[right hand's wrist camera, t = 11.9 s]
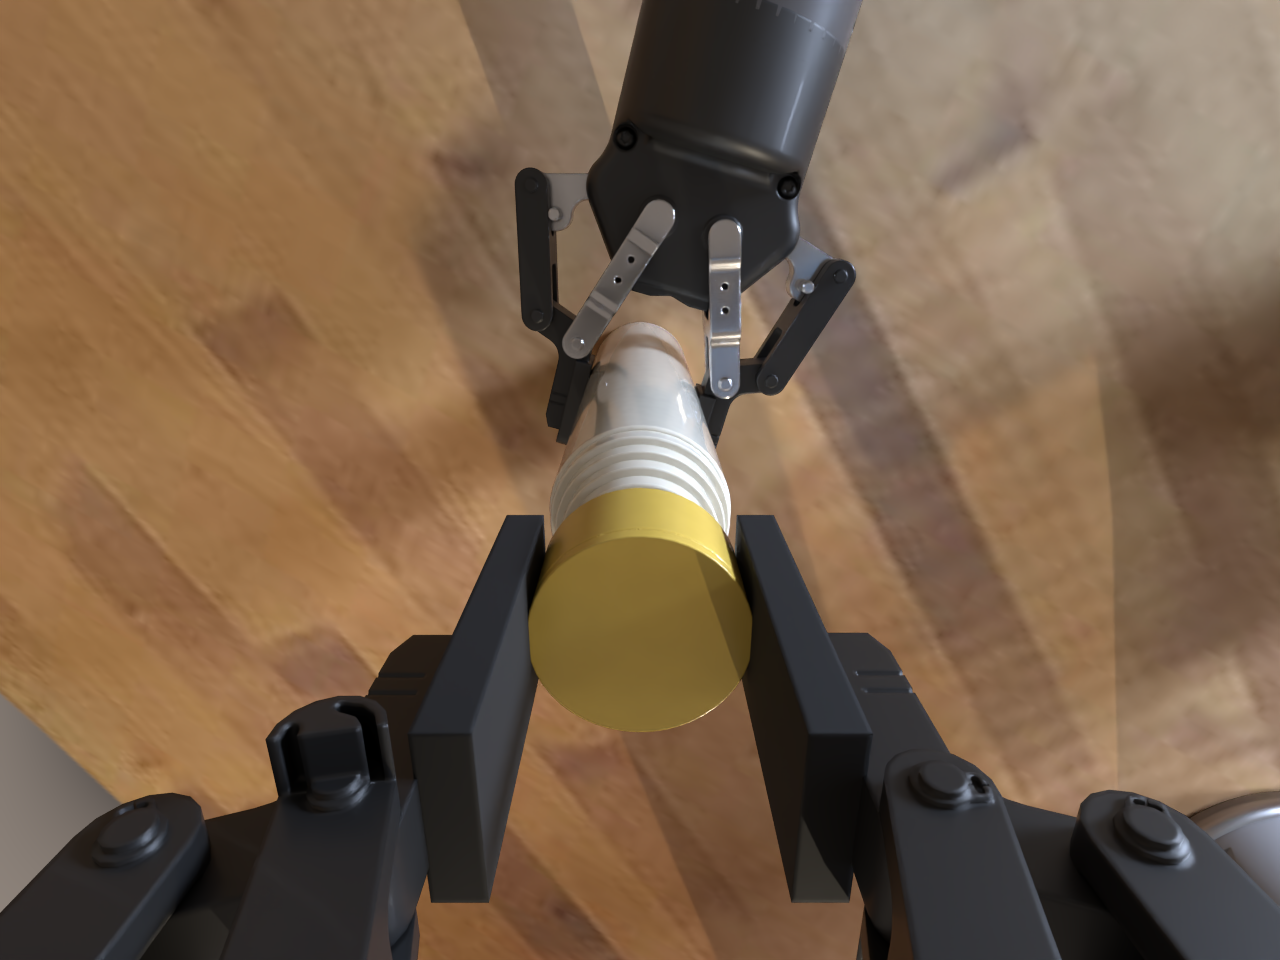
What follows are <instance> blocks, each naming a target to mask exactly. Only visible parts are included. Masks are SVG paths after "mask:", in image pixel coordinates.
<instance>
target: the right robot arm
mask: <svg viewBox="0 0 1280 960" xmlns="http://www.w3.org/2000/svg"><path fill="white" fill-rule="evenodd" d="M545 554H546V552H545V533H544V515H507V516H506V518H505V520H504V522H503V525H502V527H501V529H500V531H499V533H498V536H497V538H496V540H495V542H494V544H493V547H492V549H491V551H490V553H489V555H488V558H487V560H486V562H485V564H484V566H483V569H482V571H481V573H480V575H479V577H478V580H477V582H476V584H475V586H474V588H473V591H472V593H471V595H470V597H469V599H468V602H467V604H466V606H465V608H464V610H463V613H462V615H461V617H460V619H459V621H458V623H457V626H456V628H455V630H454V632H453V634H452V635H413V636H411V637H410V638H409V639H408V640H406V641H405V642H404V643H402V644H401V645H400V646H399V647H397V648H396V649H395V650H394V651H392V652H391V653H390V655H389V656H388V658H387V660H386V662H385V663H384V665H383V667H382V668H381V670H380V672H379V676H378V678H376V679H375V680H374V682H373V684H372V686H371V687H370V689H369V693H368V695H366V696H365V697H362V696H336V697H332V698H328V699H323V700H319V701H315V702H313V703H311V704H309V705H306V706H304V707H302V708H300V709H297V710H295V711H294V712H292V713H291V714H290V715H288V716H287V717H286V718H284V719H283V720H282V721H280V722H279V723H278V724H276V726H275V727H274V728H273V730H272V731H271V733H270V734H269V735H268V737H267V738H266V744H267V748H268V752H269V757H270V761H271V766H272V770H273V774H274V779H275V783H276V788H277V792H278V796H279V797H278V799H277V801H275V802H272V803H269V804H266V805H263V806H260V807H257V808H253V809H249V810H245V811H241V812H237V813H233V814H228V815H224V816H220V817H216V818H212V819H208V820H204V817H203V813H202V810H201V807H200V806H199V805H198V804H197V803H196V802H195V801H194V800H193V799H192V798H191V797H190V796H185V795H181V794H176V793H165V794H156V795H148V796H145V797H142V798H139V799H136V800H133V801H130V802H127V803H124V804H122V805H120V806H118V807H116V808H114V809H113V810H111V811H109V812H107V813H105V814H104V815H102V816H100V817H98V818H96V819H95V820H94V821H93V822H91V823H90V824H89V825H88V826H87V827H85V828H84V829H83V830H82V831H80V832H79V833H78V834H77V835H76V836H74V837H73V838H72V839H71V840H70V841H69V842H68V843H67V844H66V846H65V847H64V848H63V849H62V850H61V851H60V852H59V853H58V854H57V855H56V856H55V857H54V858H53V859H52V860H51V861H50V862H49V863H48V864H47V865H46V866H45V867H44V868H43V869H42V870H41V871H40V872H39V873H38V874H37V875H36V877H35V878H34V879H33V880H32V881H31V882H30V883H29V884H28V885H27V886H26V887H25V888H24V889H23V890H22V891H21V892H20V893H19V894H18V895H17V896H16V897H15V898H14V899H13V900H12V901H11V902H10V903H9V904H8V905H7V906H6V907H5V908H4V909H3V911H2V912H1V913H0V960H417V959H418V949H419V938H420V934H419V926H418V918H417V912H416V906H417V903H418V900H419V897H420V894H421V891H422V888H423V885H424V882H425V878H426V875H427V877H428V884H429V891H430V898H431V903H489V900H490V895H491V891H492V886H493V882H494V877H495V873H496V868H497V864H498V859H499V855H500V850H501V846H502V841H503V837H504V832H505V828H506V823H507V819H508V814H509V810H510V805H511V801H512V796H513V792H514V787H515V783H516V778H517V774H518V769H519V765H520V760H521V756H522V751H523V747H524V742H525V738H526V733H527V729H528V724H529V720H530V715H531V711H532V706H533V702H534V697H535V693H536V688H537V684H538V679H539V678H538V676H537V675H536V672H535V670H534V668H533V665H532V663H531V657H530V642H529V626H528V614H529V609H530V606H531V603H532V599H533V595H534V592H535V588H536V585H537V581H538V578H539V574H540V571H541V567H542V564H543V560H544V557H545ZM735 556H736V560H737V563H738V567H739V570H740V574H741V577H742V581H743V584H744V588H745V591H746V595H747V598H748V602H749V605H750V609H751V612H752V633H751V649H750V661H749V664H748V667H747V669H746V671H745V673H744V675H743V677H742V682H743V686H744V691H745V695H746V700H747V704H748V709H749V713H750V718H751V722H752V727H753V731H754V736H755V740H756V745H757V749H758V754H759V758H760V763H761V767H762V772H763V776H764V781H765V785H766V790H767V794H768V799H769V803H770V808H771V812H772V817H773V821H774V826H775V830H776V835H777V839H778V844H779V848H780V853H781V857H782V862H783V866H784V871H785V875H786V880H787V884H788V889H789V893H790V898H791V902H792V903H849V901H850V894H851V887H852V880H853V873H854V874H855V877H856V880H857V883H858V886H859V889H860V892H861V895H862V898H863V901H864V904H865V905H864V912H863V918H862V925H861V931H860V938H859V945H858V951H857V958H856V960H1280V791H1273V792H1263V793H1256V794H1251V795H1246V796H1241V797H1238V798H1234V799H1231V800H1228V801H1225V802H1222V803H1220V804H1217V805H1215V806H1212V807H1210V808H1208V809H1206V810H1204V811H1202V812H1200V813H1198V814H1196V815H1194V816H1193V817H1191V818H1188V817H1187V816H1185V815H1183V814H1182V813H1180V812H1178V811H1176V810H1174V809H1172V808H1171V807H1169V806H1167V805H1165V804H1163V803H1161V802H1160V801H1157V800H1154V799H1151V798H1148V797H1145V796H1142V795H1139V794H1136V793H1133V792H1124V791H1115V790H1106V791H1101V792H1097V793H1092V794H1090V795H1089V796H1088V797H1087V798H1086V799H1085V800H1084V801H1083V802H1082V803H1081V805H1080V808H1079V812H1078V815H1077V817H1072V816H1068V815H1064V814H1060V813H1056V812H1052V811H1047V810H1043V809H1039V808H1035V807H1031V806H1027V805H1023V804H1020V803H1017V802H1014V801H1011V800H1008V799H1006V798H1003V797H1002V796H1001V794H1000V792H999V791H998V789H997V788H996V786H995V784H994V783H993V781H992V780H991V779H990V778H989V777H988V776H987V775H986V774H984V773H983V772H982V771H981V770H980V769H979V768H977V767H976V766H975V765H973V764H971V763H969V762H968V761H966V760H964V759H962V758H960V757H958V756H956V755H954V754H950V752H949V750H948V749H947V747H946V745H945V744H944V742H943V740H942V738H941V737H940V735H939V733H938V732H937V730H936V728H935V726H934V725H933V723H932V721H931V720H930V718H929V716H928V714H927V713H926V711H925V709H924V708H923V706H922V704H921V702H920V701H919V699H918V697H917V696H916V694H915V693H913V692H912V687H911V685H910V684H909V682H908V680H907V679H906V677H905V675H902V670H901V668H900V667H899V665H898V663H897V661H896V660H895V658H894V656H893V655H892V653H891V651H890V650H889V649H887V648H886V647H885V646H884V645H882V644H881V643H880V642H879V641H877V640H876V639H875V638H873V637H872V636H871V635H870V634H868V633H827V631H826V629H825V627H824V625H823V622H822V620H821V618H820V616H819V614H818V612H817V609H816V607H815V605H814V603H813V601H812V598H811V596H810V594H809V592H808V590H807V587H806V585H805V583H804V581H803V579H802V576H801V574H800V572H799V570H798V568H797V565H796V563H795V561H794V559H793V557H792V554H791V552H790V550H789V548H788V546H787V543H786V541H785V539H784V537H783V535H782V532H781V530H780V528H779V526H778V524H777V522H776V519H775V517H774V515H737V522H736V541H735Z"/></svg>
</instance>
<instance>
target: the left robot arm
mask: <svg viewBox="0 0 1280 960" xmlns="http://www.w3.org/2000/svg"><path fill="white" fill-rule="evenodd" d="M862 1H863V0H643V1H642V5H641V9H640V14H639V18H638V22H637V26H636V31H635V35H634V40H633V44H632V48H631V52H630V57H629V61H628V65H627V69H626V74H625V78H624V82H623V86H622V91H621V95H620V99H619V103H618V108H617V112H616V116H615V120H614V125H613V129H612V133H611V137H610V140H609V143H608V145H607V147H606V149H605V150H604V152H603V154H602V155H601V156H600V158H599V159H598V160H597V161H596V162H595V163H594V164H593V166H592V167H591V169H590V171H589V173H588V174H567V173H543V172H541V171H539V170H538V169H535V168H525V169H523V170H521V171H520V172H519V173H518V175H517V176H516V179H515V198H516V217H517V236H518V254H519V273H520V292H521V311H522V320H523V322H524V324H525V325H526V326H527V327H528V328H529V329H531V330H533V331H538V332H539V333H541V334H542V335H544V336H545V337H546V338H548V339H549V340H551V341H552V342H553V343H554V344H555V346H556V347H557V349H558V353H559V360H558V365H557V369H556V373H555V378H554V382H553V386H552V390H551V395H550V399H549V403H548V407H547V412H546V417H547V424H548V426H549V427H553V428H556V429H559V432H558V436H557V440H556V442H558V443H561V444H565V445H567V442H568V439H569V436H570V433H571V430H572V427H573V424H574V421H575V418H576V415H577V412H578V409H579V406H580V403H581V400H582V397H583V394H584V391H585V388H586V385H587V382H588V379H589V376H590V373H591V370H592V367H593V363H594V359H595V355H591V353H592V349H593V347H594V345H595V343H596V342H597V340H598V339H599V337H600V336H601V334H602V333H603V331H604V330H605V328H606V326H607V325H608V323H609V322H610V320H611V319H612V317H613V316H614V315H615V313H616V312H617V310H618V309H619V307H620V306H621V304H622V303H623V301H624V300H625V298H626V297H627V295H628V293H629V292H630V290H632V291H635V292H639V293H643V294H646V295H650V296H672V297H674V298H675V299H677V300H679V301H680V302H682V303H684V304H685V305H687V306H689V307H692V308H696V309H699V310H703V329H704V341H705V375H704V378H703V381H702V385H700V384H696V386H695V389H696V392H697V395H698V398H699V401H700V404H701V407H702V410H703V413H704V416H705V419H706V422H707V426H708V429H709V432H710V435H711V438H712V441H713V444H714V447H715V449H716V446H717V443H718V440H719V436H720V434H721V431H722V428H723V425H724V422H725V418H726V415H727V412H728V409H729V406H730V404H731V403H732V401H733V400H734V399H735V398H737V397H738V396H740V395H743V394H751V393H763V394H765V395H770V396H771V395H776V394H778V393H780V392H781V391H782V390H783V389H784V387H785V386H786V384H787V383H788V381H789V380H790V378H791V377H792V375H793V374H794V372H795V371H796V369H797V368H798V366H799V365H800V363H801V362H802V360H803V359H804V357H805V356H806V354H807V353H808V351H809V350H810V348H811V347H812V345H813V344H814V342H815V341H816V339H817V338H818V336H819V335H820V333H821V332H822V330H823V329H824V327H825V326H826V324H827V323H828V321H829V320H830V318H831V317H832V315H833V314H834V312H835V311H836V309H837V308H838V306H839V305H840V303H841V302H842V300H843V299H844V297H845V296H846V294H847V293H848V291H849V290H850V288H851V287H852V285H853V284H854V282H855V279H856V271H855V268H854V266H853V265H852V264H851V263H850V262H848V261H844V260H842V259H838V258H832V257H831V256H829V255H828V254H826V253H825V252H823V251H821V250H820V249H818V248H817V247H815V246H814V245H812V244H811V243H809V242H808V241H806V240H805V239H803V238H801V237H800V223H799V217H798V199H799V195H800V191H801V188H802V185H803V182H804V179H805V175H806V172H807V169H808V166H809V163H810V160H811V157H812V154H813V151H814V148H815V145H816V141H817V138H818V135H819V132H820V129H821V126H822V123H823V120H824V117H825V114H826V111H827V108H828V105H829V102H830V99H831V95H832V92H833V90H834V87H835V84H836V81H837V77H838V74H839V71H840V68H841V65H842V62H843V59H844V56H845V53H846V50H847V47H848V44H849V41H850V38H851V35H852V31H853V28H854V25H855V22H856V19H857V16H858V13H859V10H860V7H861V4H862ZM585 200H589V203H590V205H591V208H592V211H593V213H594V216H595V219H596V221H597V224H598V227H599V229H600V232H601V235H602V237H603V240H604V243H605V246H606V248H607V251H608V254H609V256H610V259H611V262H610V264H609V265H608V267H607V269H606V270H605V272H604V273H603V275H602V276H601V278H600V280H599V281H598V283H597V284H596V286H595V288H594V289H593V291H592V292H591V294H590V295H589V297H588V299H587V300H586V302H585V304H584V305H583V307H582V308H581V310H580V311H579V313H578V315H577V316H576V315H574V314H573V313H571V312H570V311H568V310H567V309H566V308H564V307H563V306H561V305H560V304H559V299H558V271H557V242H556V231H561V230H564V229H566V228H568V227H569V226H570V225H571V223H572V221H573V216H574V211H575V208H576V207H577V205H578V204H579V203H581V202H582V201H585ZM784 259H786V260H787V262H788V264H789V275H788V277H787V280H786V283H785V288H786V291H787V293H788V295H789V296H790V297H792V299H791V300H790V302H789V303H788V305H787V307H786V308H785V310H784V311H783V313H782V314H781V316H780V317H779V319H778V321H777V322H776V324H775V325H774V327H773V328H772V330H771V331H770V333H769V335H768V336H767V338H766V339H765V341H764V342H763V344H762V345H761V347H760V349H759V350H758V352H757V353H756V355H755V356H754V358H749V359H740V339H741V293H742V292H744V291H745V290H746V289H747V288H749V287H750V286H751V285H752V284H754V283H755V282H756V281H757V280H759V279H760V278H761V277H762V276H764V275H765V274H766V273H768V272H769V271H770V270H771V269H773V268H774V267H775V266H776V265H778V264H779V263H780V262H781V261H783V260H784Z"/></svg>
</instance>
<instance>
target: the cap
mask: <svg viewBox="0 0 1280 960" xmlns="http://www.w3.org/2000/svg"><path fill="white" fill-rule="evenodd" d="M528 626H529V642H530V657H531V663H532V665H533V668H534V670H535V672H536V675H537V676H538V678H539V679H540V681H541V683H542V684H543V686H544V687H545V688H546V689H547V691H548V692H549V693H550V694H551V696H552V697H554V698H555V699H556V700H557V701H558V702H559V703H560V704H561V705H562V706H564V707H565V708H566V709H568V710H569V711H570V712H572V713H574V714H575V715H577V716H579V717H581V718H582V719H584V720H587V721H589V722H591V723H594V724H596V725H599V726H603V727H606V728H609V729H615V730H620V731H628V732H653V731H660V730H667V729H670V728H674V727H678V726H681V725H684V724H687V723H689V722H692V721H694V720H696V719H698V718H700V717H702V716H704V715H705V714H707V713H708V712H710V711H711V710H713V709H714V708H716V707H717V706H718V705H719V704H720V703H722V702H723V701H724V700H725V699H726V698H727V697H728V696H729V695H730V694H731V692H732V691H733V690H734V689H735V688H736V686H737V685H738V683H739V682H740V680H741V679H742V677H743V675H744V673H745V671H746V669H747V667H748V664H749V661H750V649H751V633H752V612H751V609H750V605H749V602H748V598H747V595H746V591H745V588H744V584H743V581H742V577H741V574H740V570H739V567H738V563H737V560H736V556H735V553H734V549H733V546H732V544H731V542H730V540H729V538H728V536H727V534H726V533H725V531H724V530H723V528H722V527H721V525H720V524H719V523H718V522H717V521H716V520H715V519H714V517H713V516H711V515H710V514H709V513H708V512H707V511H706V510H705V509H703V508H702V507H700V506H699V505H697V504H696V503H694V502H693V501H691V500H689V499H687V498H684V497H682V496H680V495H677V494H675V493H672V492H668V491H663V490H658V489H650V488H629V489H623V490H617V491H613V492H609V493H605V494H603V495H600V496H598V497H596V498H594V499H591V500H590V501H588V502H586V503H585V504H583V505H581V506H580V507H579V508H577V509H576V510H575V511H574V512H572V513H571V514H570V515H569V516H568V517H567V518H566V519H565V520H564V521H563V522H562V523H561V525H560V526H559V527H558V529H557V530H556V532H555V533H554V535H553V537H552V539H551V541H550V543H549V545H548V548H547V551H546V554H545V557H544V560H543V564H542V567H541V571H540V574H539V578H538V581H537V585H536V588H535V592H534V595H533V599H532V603H531V606H530V609H529V614H528Z"/></svg>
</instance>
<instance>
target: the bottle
mask: <svg viewBox="0 0 1280 960" xmlns="http://www.w3.org/2000/svg"><path fill="white" fill-rule="evenodd" d="M629 488H650V489H658V490H663V491H668V492H672V493H675V494H677V495H680V496H682V497H684V498H687V499H689V500H691V501H693V502H694V503H696V504H697V505H699V506H700V507H702V508H703V509H705V510H706V511H707V512H708V513H709V514H710V515H711V516H713V517H714V519H715V520H716V521H717V522H718V523H719V524H720V525H721V527H722V528H723V530H724V531H725V533H726V534H727V536H728V534H729V527H730V516H731V502H730V494H729V490H728V486H727V483H726V480H725V477H724V474H723V471H722V468H721V465H720V462H719V459H718V456H717V453H716V450H715V447H714V444H713V441H712V438H711V435H710V432H709V429H708V426H707V422H706V419H705V416H704V413H703V410H702V407H701V404H700V401H699V398H698V395H697V392H696V389H695V386H694V383H693V380H692V377H691V374H690V371H689V368H688V365H687V362H686V359H685V356H684V353H683V351H682V348H681V346H680V345H679V343H678V341H677V340H676V339H675V338H674V336H672V335H671V334H670V333H669V332H668V331H667V330H665V329H663V328H662V327H660V326H657V325H655V324H651V323H646V322H635V323H629V324H626V325H623V326H621V327H619V328H617V329H615V330H614V331H613V332H611V333H610V334H609V335H608V336H607V337H606V338H605V339H604V341H603V342H602V344H601V345H600V347H599V349H598V352H597V355H596V358H595V361H594V364H593V367H592V370H591V373H590V376H589V379H588V382H587V385H586V388H585V391H584V394H583V397H582V400H581V403H580V406H579V409H578V412H577V415H576V418H575V421H574V424H573V427H572V430H571V433H570V436H569V439H568V442H567V445H566V448H565V451H564V454H563V457H562V460H561V463H560V466H559V469H558V472H557V475H556V478H555V481H554V484H553V487H552V492H551V497H550V522H551V531H552V536H553V535H554V533H555V532H556V530H557V529H558V527H559V526H560V525H561V523H562V522H563V521H564V520H565V519H566V518H567V517H568V516H569V515H570V514H571V513H572V512H574V511H575V510H576V509H577V508H579V507H580V506H581V505H583V504H585V503H586V502H588V501H590V500H591V499H594V498H596V497H598V496H600V495H603V494H605V493H609V492H613V491H617V490H623V489H629Z"/></svg>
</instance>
